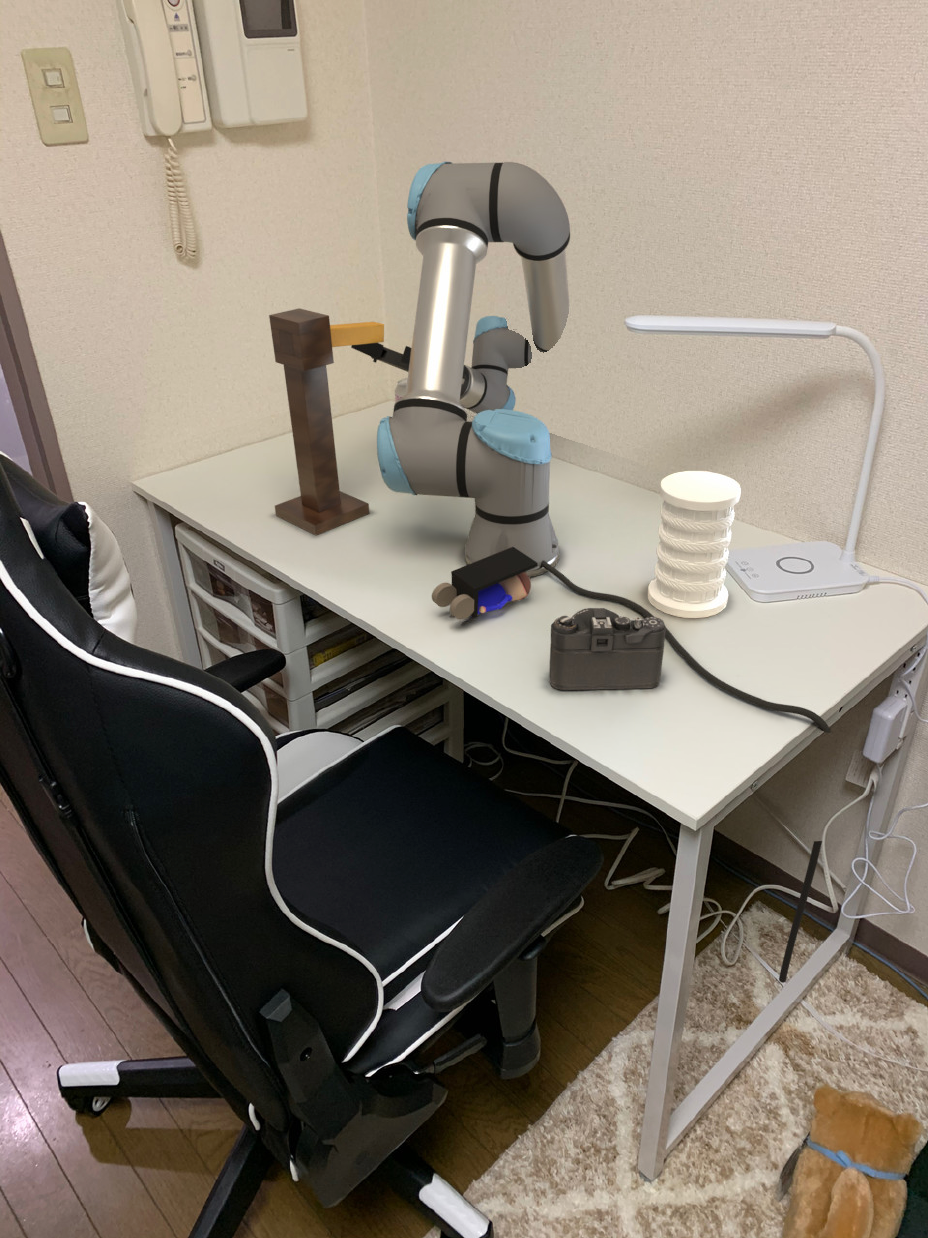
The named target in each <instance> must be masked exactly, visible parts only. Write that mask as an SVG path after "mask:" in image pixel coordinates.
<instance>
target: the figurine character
mask: <svg viewBox="0 0 928 1238" xmlns="http://www.w3.org/2000/svg"><path fill="white" fill-rule="evenodd" d="M537 566H538V563H537V562H535V561H534V560H532V559H531V558H529V557H528V556H526V555H525V554H524V553H522V552H521V551H519V550H518V549H516V548H515V547H511V548H508V549H506V550H503V551H501V552H498V553H496V554H493V555H491V556H488V557H486V558H483V559H481V560H478V561H476V562H473V563H471V564H466V565H464V566H461V567H459V568H456V569H454V570H452V571H451V572H450V574H451V583H449V582H441V583H440V584H438V585H436V587H435V588H434V589H433V591H432V593H431V601H432V602H433V603H435V605H437V606H438V607H439V608H447V607H449V612H450V614H449V618H456V619H457V620H463V621H462V622H461V623H460V626H465V625H468V624H469V623H471V622H474V621H475V620H477V619H479V617H480V614H486V613H488V612H494V611H498V610H502V609H503V607H504V606H505V605H506V604H507V603H509V602H514V603H515V602H520V601H522V600H525V598H527V597H528V595H530V591H531V588H532V582H531V579H530V577H528V575H527V574H526V573H525V571H528V570H530V569H533V568H535V567H537ZM470 616H471V617H470ZM465 619H466V620H465Z"/></svg>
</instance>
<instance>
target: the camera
mask: <svg viewBox="0 0 928 1238" xmlns="http://www.w3.org/2000/svg"><path fill="white" fill-rule="evenodd" d="M666 628H667V626H666V624H665V622H664V620H663V619H661V618H659V617H656V616H654V617H647V618H645V617H644V618H642V617H638V616H636V617H634V619H630V618H629V617H627V616H622V615H621V616H620V615H619V614H617V612H614V611H612V610H609V609H608V608H605V607H588V608H583V609H581V610H578V611H577V612H575V613H574V614H573V615H572V617H571V616H568V615H561V616H560V617H557V618H556V619H555V620H554V621H553V622H552V623H551V625H550V647H549V648H550V649H549V651H550V652H549V671H548V672H549V673H548V677H549V678H548V679H549V684H550V686H551V687H553V689H556V690H561V691H580V690H582V691H585V690H589V691H590V690H592V691H595V690H626V689H628V690H629V689H630V690H634V689H640V690H641V689H653V688H656V687H658V685H660V681H661V676H662V668H663V659H664V650H665V640H666V637H665V631H666Z"/></svg>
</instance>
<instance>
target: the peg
mask: <svg viewBox="0 0 928 1238" xmlns="http://www.w3.org/2000/svg"><path fill="white" fill-rule="evenodd" d="M330 330H331V340H332V348H339V347H349V346H352V345H360V344H369V343H379V344H380V343H385V324H384V323H380V322H376V321H364V322H352V323H351V322H350V323H339V324H330Z"/></svg>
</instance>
